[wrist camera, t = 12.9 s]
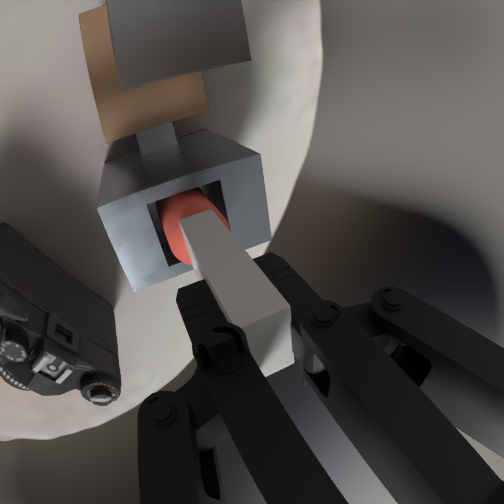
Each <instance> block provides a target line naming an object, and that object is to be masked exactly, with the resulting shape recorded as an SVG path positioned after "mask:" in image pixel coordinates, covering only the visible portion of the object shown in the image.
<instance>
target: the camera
mask: <svg viewBox="0 0 504 504" xmlns="http://www.w3.org/2000/svg"><path fill="white" fill-rule="evenodd" d="M0 376H1V377H2V378H3V379H4V380H5V382H7V383H8V384H10V385H11V386H13V387H15V388H18V389H21V390H26V391H29V390H32V391H34V392H36V393H38V394H40V395H42V396H50V395H61V394H64V393H66V392H68V391H71V390H74V389H77V390H80V391H81V394H82V396H83V397H84V398H85V399H87V400H88V401H90V402H93V403H94V404H95V405H99V406H107V405H108V404H110V403H111V402H113V401H116V400H117V399H118V397H119V396H120V393H121V374H120V367H119V358H118V344H117V336H116V327H115V317H114V312H113V309H112V307H111V306H110V304H109V303H107V302H106V301H105V300H103V299H102V298H101V297H99V296H98V295H96V294H95V293H93V292H92V291H90V290H89V289H88V288H86V287H85V286H83V285H82V284H80V283H79V282H78V281H77V280H75V279H74V278H73V277H71V276H70V275H69V274H67V273H66V272H65V271H63V270H62V269H61V268H59V267H58V266H57V265H56V264H54V263H53V262H52V261H50V260H49V259H48V258H46V257H45V256H44V255H43V254H42V253H40V252H39V251H38V250H37V249H35V248H34V247H33V246H32V245H31V244H30V243H28V242H27V241H26V240H25V239H24V238H23V237H21V236H20V235H19V234H18V233H17V232H16V231H14V230H13V229H12V228H11V227H10V226H8V225H6V224H1V223H0Z"/></svg>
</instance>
